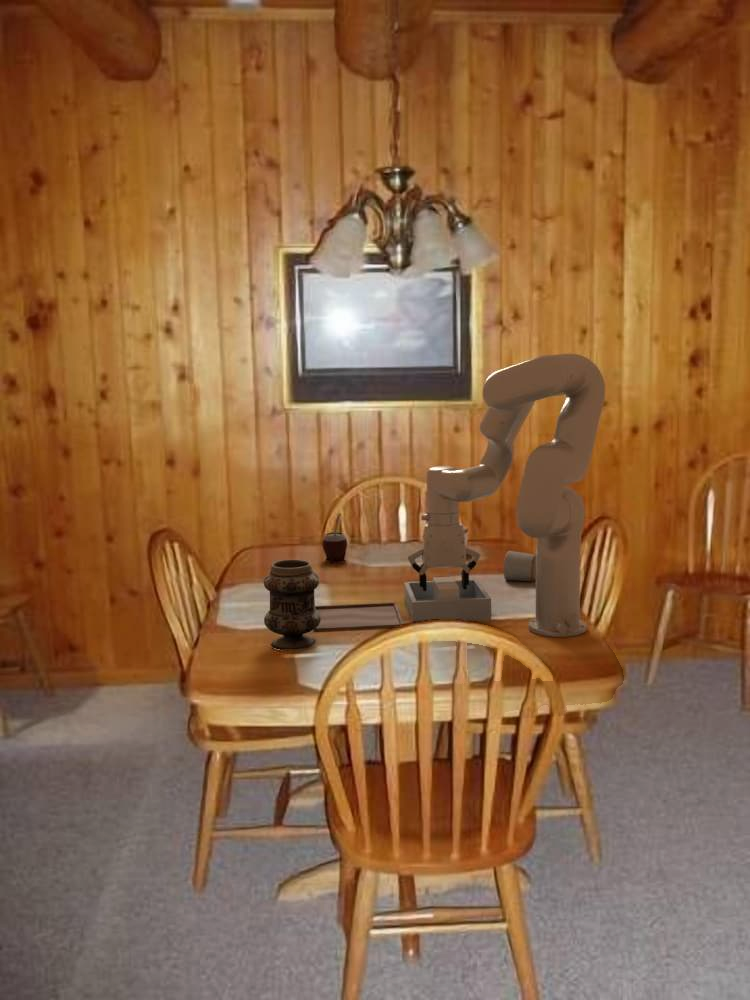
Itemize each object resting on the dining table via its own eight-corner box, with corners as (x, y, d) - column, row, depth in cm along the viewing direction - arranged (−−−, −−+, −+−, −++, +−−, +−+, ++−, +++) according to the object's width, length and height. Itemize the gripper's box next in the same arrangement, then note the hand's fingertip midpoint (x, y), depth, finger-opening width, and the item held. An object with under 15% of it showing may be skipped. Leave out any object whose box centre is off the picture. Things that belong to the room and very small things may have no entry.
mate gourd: (330, 557, 289) (328, 507, 286) (354, 559, 286) (352, 509, 283) (318, 563, 282) (316, 512, 280) (342, 565, 279) (340, 513, 276)
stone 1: (455, 606, 232) (455, 581, 231) (435, 607, 232) (435, 582, 231) (453, 600, 237) (452, 576, 236) (433, 601, 237) (433, 577, 236)
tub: (491, 619, 223) (491, 598, 223) (413, 623, 222) (412, 602, 221) (477, 598, 241) (477, 579, 240) (404, 602, 240) (404, 582, 239)
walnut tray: (403, 629, 218) (403, 624, 218) (314, 633, 217) (314, 628, 216) (396, 607, 236) (395, 602, 236) (313, 610, 234) (312, 606, 234)
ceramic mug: (533, 584, 253) (534, 555, 251) (502, 582, 256) (503, 554, 254) (541, 575, 262) (542, 547, 261) (511, 573, 265) (511, 545, 264)
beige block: (459, 613, 226) (459, 588, 225) (439, 614, 226) (438, 589, 225) (456, 607, 231) (456, 583, 230) (436, 608, 231) (436, 583, 230)
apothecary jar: (333, 643, 210) (330, 561, 207) (292, 658, 201) (289, 573, 198) (294, 632, 218) (291, 554, 215) (253, 646, 209) (249, 564, 206)
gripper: (408, 523, 227) (410, 594, 230) (482, 520, 228) (482, 591, 231) (405, 517, 234) (406, 586, 237) (476, 514, 235) (477, 583, 238)
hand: (444, 588), depth 234 cm, fingers open, 9 cm apart
